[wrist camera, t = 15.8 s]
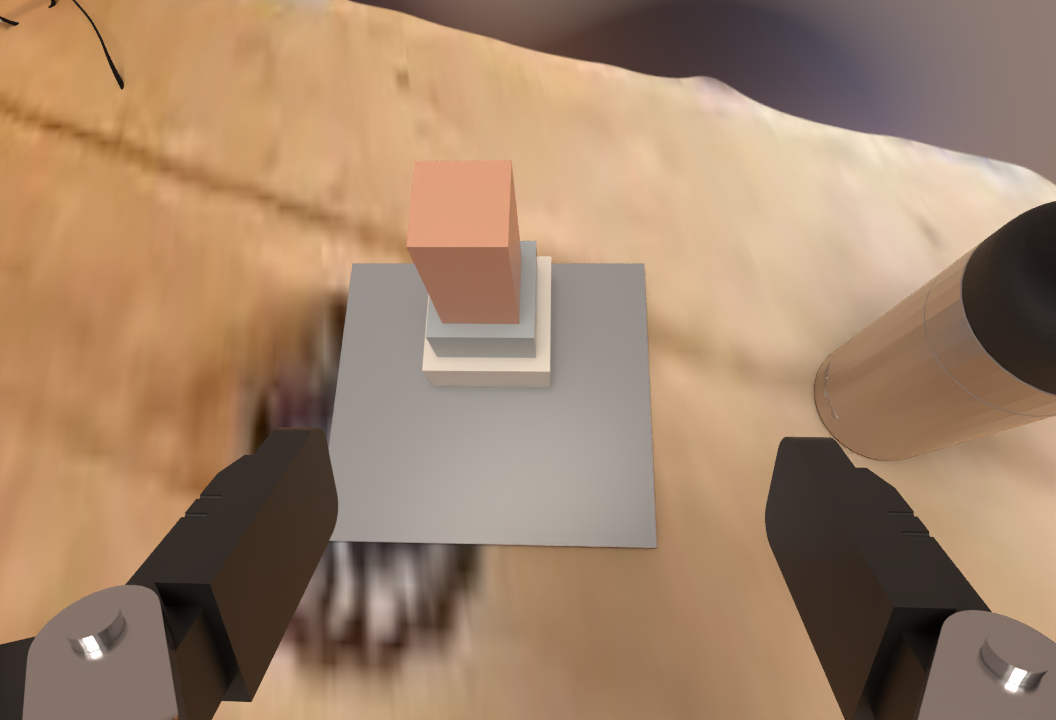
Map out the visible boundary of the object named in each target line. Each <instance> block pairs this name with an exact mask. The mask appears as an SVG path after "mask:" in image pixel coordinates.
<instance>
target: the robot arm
mask: <svg viewBox="0 0 1056 720" xmlns="http://www.w3.org/2000/svg"><path fill="white" fill-rule="evenodd" d="M815 401H816V405H817V409H818V412H819V414H820V416H821V418H822V421H823V423H824V424H825V426H826V427H827V428H828V430H829V431H830V432H831V434H832V435H833V436H834V437H835V438H836V439H837V440H839V441H840V442H841V443H842V444H843V445H845V446H846V447H848V448H849V449H851V450H852V451H854V452H856V453H858V454H861V455H863V456H866V457H868V458H873V459H878V460H900V459H904V458H909V457H912V456H916V455H919V454H923V453H926V452H930V451H933V450H937V449H941V448H944V447H948V446H951V445H955V444H958V443H962V442H965V441H969V440H972V439H975V438H979V437H982V436H986V435H989V434H993V433H996V432H1000V431H1003V430H1007V429H1010V428H1013V427H1017V426H1020V425H1024V424H1027V423H1031V422H1034V421H1038V420H1041V419H1044V418H1048V417H1051V416H1055V415H1056V201H1054V202H1050V203H1047V204H1043V205H1041V206H1038V207H1035V208H1033V209H1031V210H1029V211H1026V212H1025V213H1023V214H1021V215H1019V216H1018V217H1016V218H1014V219H1013V220H1011V221H1010V222H1008V223H1007V224H1006V225H1004V226H1003V227H1001V228H1000V229H999V230H997V231H996V232H995V233H993V234H992V235H991V236H989V237H988V238H987V239H985V240H984V241H983V242H981V243H980V244H978V245H977V246H976V247H974V248H973V249H972V250H970V251H969V252H968V253H966V254H965V255H964V256H962V257H961V258H960V259H958V260H957V261H956V262H954V263H953V264H952V265H950V266H949V267H948V268H947V269H945V270H944V271H942V272H941V273H940V274H938V275H937V276H936V277H934V278H933V279H932V280H930V281H929V282H928V283H926V284H925V285H924V286H922V287H921V288H920V289H918V290H917V291H916V292H914V293H913V294H911V295H910V296H909V297H907V298H906V299H905V300H903V301H902V302H901V303H899V304H898V305H897V306H895V307H894V308H893V309H891V310H890V311H889V312H887V313H886V314H884V315H883V316H882V317H880V318H879V319H878V320H876V321H875V322H874V323H872V324H871V325H870V326H868V327H867V328H866V329H864V330H863V331H862V332H860V333H859V334H857V335H856V336H855V337H853V338H852V339H851V340H850V341H848V342H847V343H846V344H844V345H843V346H842V347H840V348H839V349H838V350H836V351H835V352H834V353H832V354H831V355H829V357H828V358H827V359H826V360H825V361H824V363H823V364H822V365H821V368H820V370H819V372H818V374H817V377H816V382H815ZM913 513H914V512H913V510H912V509H911V508H910V507H909V505H908V504H907V503H906V501H905V500H904V499H903V498H902V496H901V495H900V494H899V492H898V491H897V490H896V489H895V488H894V487H893V486H891V485H890V484H889V483H887V482H886V481H884V480H883V479H882V478H880V477H879V476H877V475H876V474H875V473H873V472H872V471H870V470H869V469H868V468H855V467H854V465H853V464H852V462H851V461H850V460H849V458H848V457H847V455H846V454H845V453H844V451H843V450H842V448H841V447H840V446H839V444H838V443H837V442H836V441H835V440H834V439H833V438H826V437H785V438H783V439H782V441H781V442H780V445H779V448H778V452H777V457H776V462H775V467H774V471H773V476H772V481H771V485H770V490H769V495H768V500H767V504H766V511H765V524H766V532H767V537H768V541H769V544H770V547H771V549H772V551H773V554H774V556H775V558H776V561H777V563H778V565H779V567H780V570H781V572H782V574H783V577H784V579H785V581H786V584H787V586H788V588H789V591H790V593H791V595H792V598H793V600H794V602H795V605H796V607H797V609H798V612H799V614H800V616H801V619H802V621H803V623H804V626H805V628H806V630H807V633H808V635H809V637H810V640H811V642H812V644H813V647H814V649H815V651H816V653H817V656H818V658H819V660H820V663H821V665H822V667H823V670H824V672H825V674H826V677H827V679H828V681H829V684H830V686H831V688H832V691H833V693H834V695H835V698H836V700H837V702H838V705H839V707H840V709H841V712H842V714H843V716H844V719H845V720H1056V643H1055V642H1053V641H1052V640H1050V639H1049V638H1048V637H1046V636H1045V635H1043V634H1042V633H1040V632H1038V631H1037V630H1035V629H1033V628H1031V627H1030V626H1028V625H1026V624H1023V623H1021V622H1019V621H1017V620H1014V619H1012V618H1009V617H1007V616H1003V615H1000V614H996V613H992V612H991V610H990V609H989V608H988V607H987V605H986V604H985V603H984V601H983V600H982V599H981V598H980V596H979V595H978V594H977V592H976V591H975V590H974V589H973V587H972V586H971V585H970V583H969V582H968V581H967V580H966V578H965V577H964V576H963V574H962V573H961V572H960V571H959V569H958V568H957V567H956V565H955V564H954V563H953V562H952V560H951V559H950V558H949V557H948V555H947V554H946V553H945V551H944V550H943V549H942V548H941V546H940V545H939V544H938V542H937V541H936V540H935V539H934V537H930V536H929V531H928V530H927V528H926V527H925V526H924V524H923V523H922V522H921V521H920V519H919V518H918V517H914V514H913ZM337 516H338V495H337V490H336V485H335V480H334V475H333V470H332V465H331V460H330V455H329V450H328V445H327V440H326V436H325V434H324V432H323V431H322V430H321V429H320V428H276V429H274V430H273V431H272V432H271V433H270V435H269V436H268V437H267V439H266V440H265V441H264V442H263V444H262V445H261V446H260V448H259V449H258V450H257V451H256V453H255V454H254V455H244V456H243V457H241V458H240V459H238V460H237V461H235V462H234V463H232V464H231V465H229V466H228V467H226V468H225V469H223V470H222V471H220V472H219V473H218V474H217V475H216V476H215V477H214V479H213V480H212V481H211V482H210V483H209V485H208V486H207V487H206V488H205V489H204V491H203V492H202V493H201V494H200V499H196V500H195V501H194V503H193V504H192V505H191V506H190V507H189V509H188V510H187V511H186V512H185V517H181V518H180V520H179V521H178V522H177V523H176V524H175V526H174V527H173V528H172V529H171V530H170V532H169V533H168V534H167V535H166V536H165V538H164V539H163V540H162V541H161V542H160V544H159V545H158V546H157V547H156V548H155V550H154V551H153V552H152V553H151V554H150V556H149V557H148V558H147V559H146V560H145V562H144V563H143V564H142V565H141V567H140V568H139V569H138V570H137V571H136V573H135V574H134V575H133V576H132V577H131V579H130V580H129V581H128V582H127V583H126V585H123V586H116V587H111V588H107V589H104V590H101V591H98V592H95V593H93V594H90V595H88V596H86V597H84V598H82V599H80V600H78V601H76V602H74V603H73V604H71V605H70V606H68V607H67V608H65V609H63V610H62V611H61V612H60V613H58V614H57V615H56V616H54V617H53V618H52V619H51V620H50V621H49V622H48V623H47V624H46V625H45V626H44V627H43V628H42V629H41V630H40V632H39V633H38V634H37V636H36V637H32V638H27V639H23V640H19V641H14V642H10V643H5V644H1V645H0V720H212V718H213V716H214V714H215V712H216V710H217V709H218V707H219V705H220V703H221V701H239V702H252V700H253V698H254V696H255V694H256V691H257V689H258V687H259V685H260V683H261V681H262V679H263V677H264V675H265V673H266V671H267V669H268V667H269V665H270V662H271V660H272V658H273V656H274V654H275V652H276V650H277V648H278V646H279V644H280V642H281V640H282V638H283V635H284V633H285V631H286V629H287V627H288V625H289V623H290V621H291V619H292V617H293V615H294V613H295V611H296V609H297V606H298V604H299V602H300V600H301V598H302V596H303V594H304V592H305V590H306V588H307V586H308V584H309V582H310V579H311V577H312V575H313V573H314V571H315V569H316V567H317V565H318V563H319V561H320V559H321V557H322V555H323V553H324V550H325V548H326V546H327V544H328V542H329V540H330V538H331V536H332V534H333V532H334V529H335V526H336V522H337Z"/></svg>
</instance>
